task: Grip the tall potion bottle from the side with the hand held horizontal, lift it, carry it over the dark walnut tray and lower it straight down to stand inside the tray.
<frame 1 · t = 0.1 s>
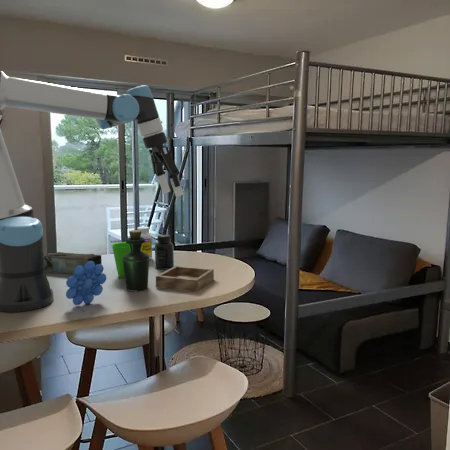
hand: (173, 194, 148), 28 cm above the table, tool tilted 20°, fingers open, 13 cm apart
walnut tray: (185, 283, 139), on the table
cup: (126, 276, 148), on the table
potion bottle: (137, 288, 134), on the table
supplement bottle: (164, 267, 159), on the table
supplement bottle 2: (143, 259, 172), on the table
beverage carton: (73, 272, 154), on the table
grapes: (86, 303, 120), on the table
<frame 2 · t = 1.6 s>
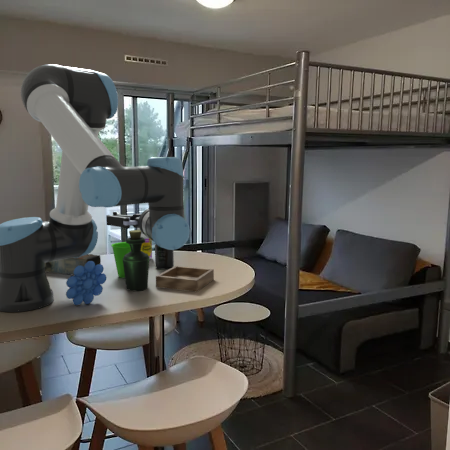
hand: (139, 214, 122), 24 cm above the table, tool horizontal, fingers open, 13 cm apart
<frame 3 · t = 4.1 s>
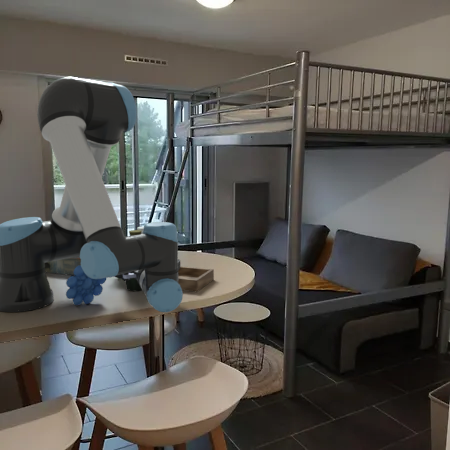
hand: (140, 260, 127), 10 cm above the table, tool horizontal, fingers open, 13 cm apart
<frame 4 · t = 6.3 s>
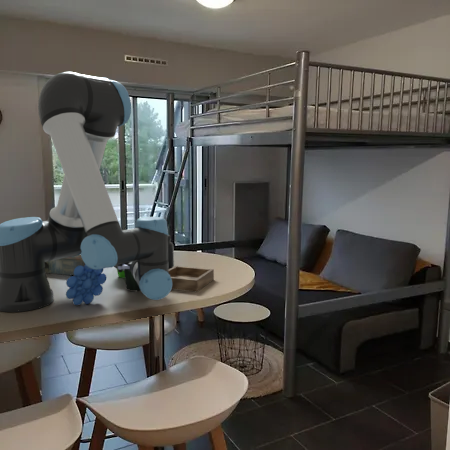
hand: (133, 253, 137), 10 cm above the table, tool horizontal, fingers closed on potion bottle, 8 cm apart
potion bottle: (137, 288, 134), on the table, touching gripper
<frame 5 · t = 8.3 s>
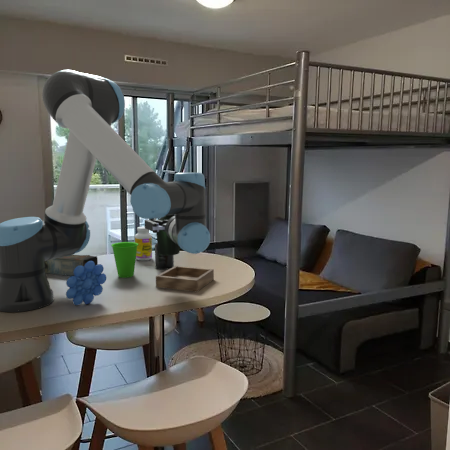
hand: (165, 219, 137), 21 cm above the table, tool horizontal, fingers closed on potion bottle, 8 cm apart
potion bottle: (169, 253, 134), point 10 cm above the table, touching gripper
when the fingers open (12 cm above the table, at t = 10.5 s): potion bottle drops 1 cm, resting on walnut tray.
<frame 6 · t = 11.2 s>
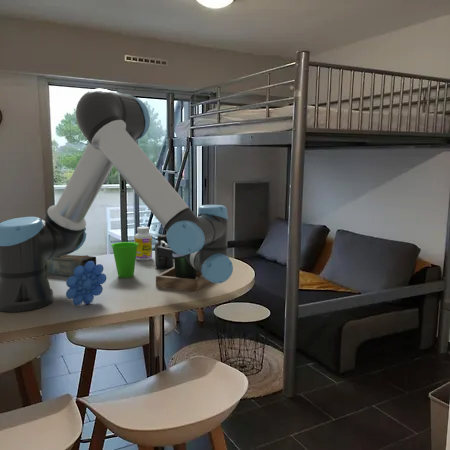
hand: (182, 243, 140), 12 cm above the table, tool horizontal, fingers open, 13 cm apart
potion bottle: (185, 280, 139), point 1 cm above the table, touching walnut tray
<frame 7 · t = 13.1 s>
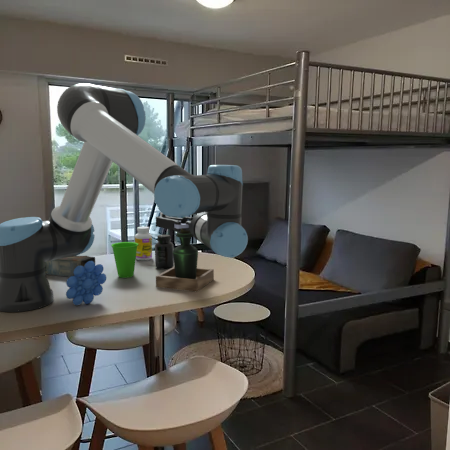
hand: (185, 216, 123), 24 cm above the table, tool horizontal, fingers open, 13 cm apart
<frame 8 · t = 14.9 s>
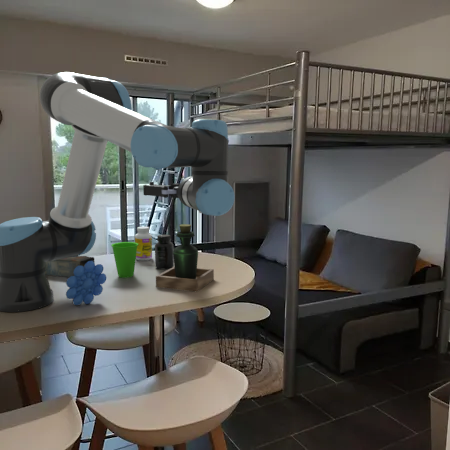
hand: (175, 187, 119), 32 cm above the table, tool horizontal, fingers open, 13 cm apart
at the end: potion bottle inside the target area on the walnut tray (0.1 cm from its centre), point 0.8 cm above the walnut tray's base; potion bottle tilted 0°; the gripper is holding nothing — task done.
